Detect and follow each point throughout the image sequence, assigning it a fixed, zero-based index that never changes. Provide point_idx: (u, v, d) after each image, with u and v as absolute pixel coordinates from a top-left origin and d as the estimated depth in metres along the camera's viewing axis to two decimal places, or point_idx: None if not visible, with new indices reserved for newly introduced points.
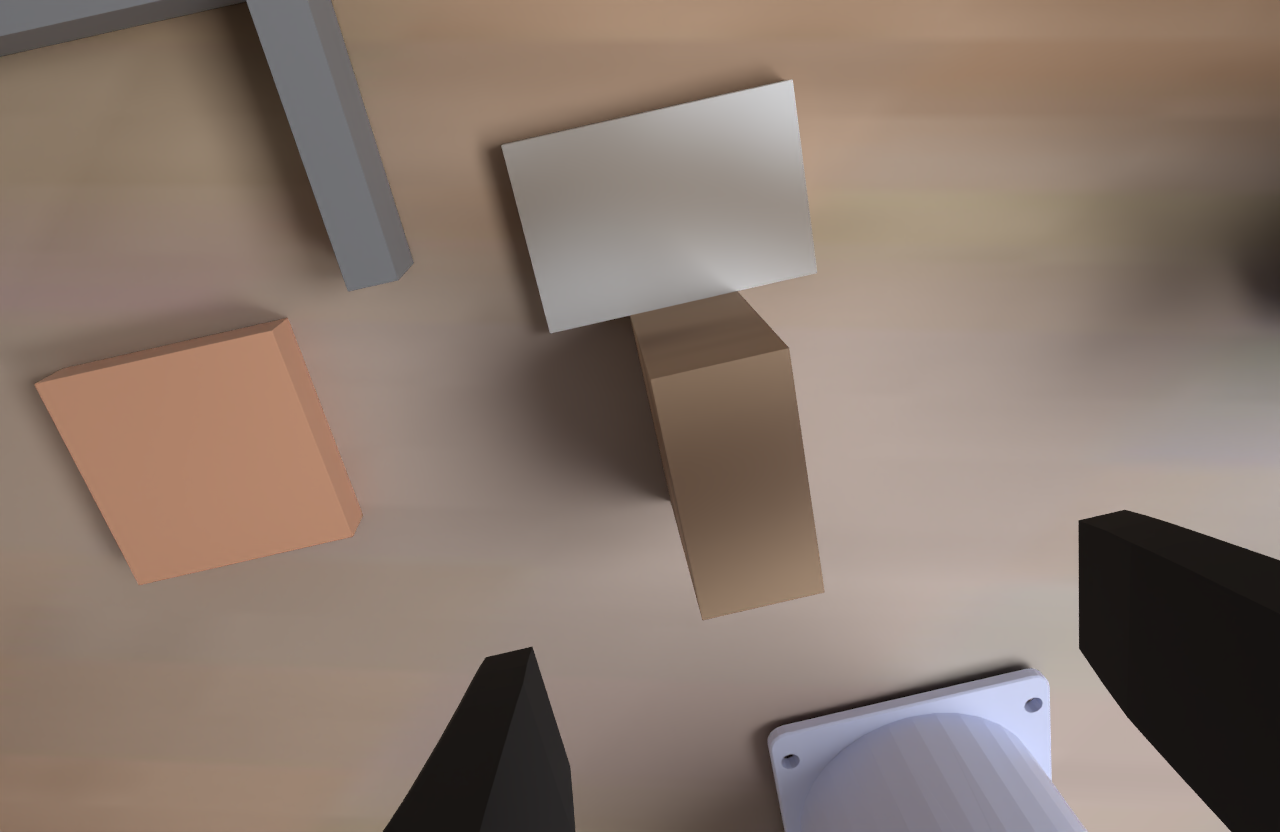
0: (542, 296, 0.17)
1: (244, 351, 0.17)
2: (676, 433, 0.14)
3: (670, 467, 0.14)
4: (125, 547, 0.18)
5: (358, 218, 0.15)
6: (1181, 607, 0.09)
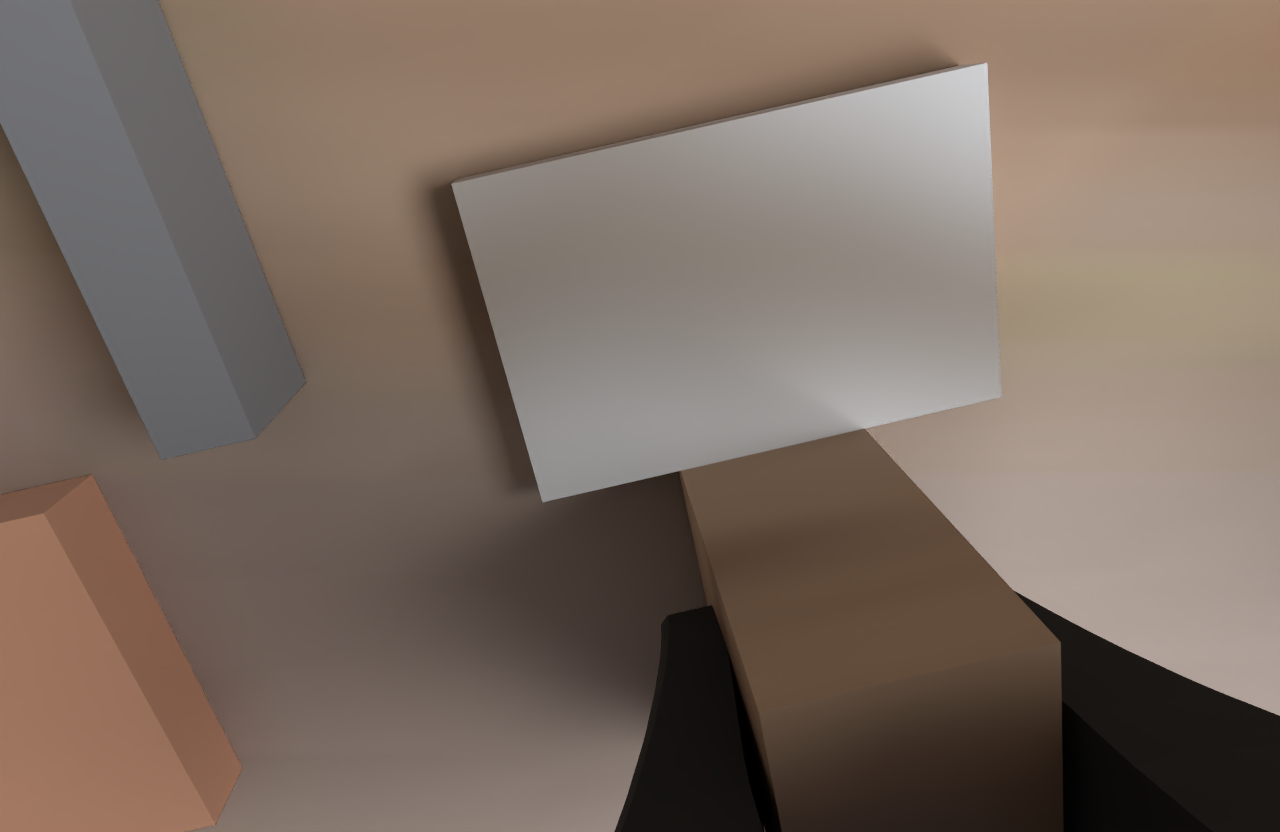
0: (528, 443, 0.10)
1: None
2: (805, 806, 0.07)
3: None
4: None
5: (170, 328, 0.08)
6: None
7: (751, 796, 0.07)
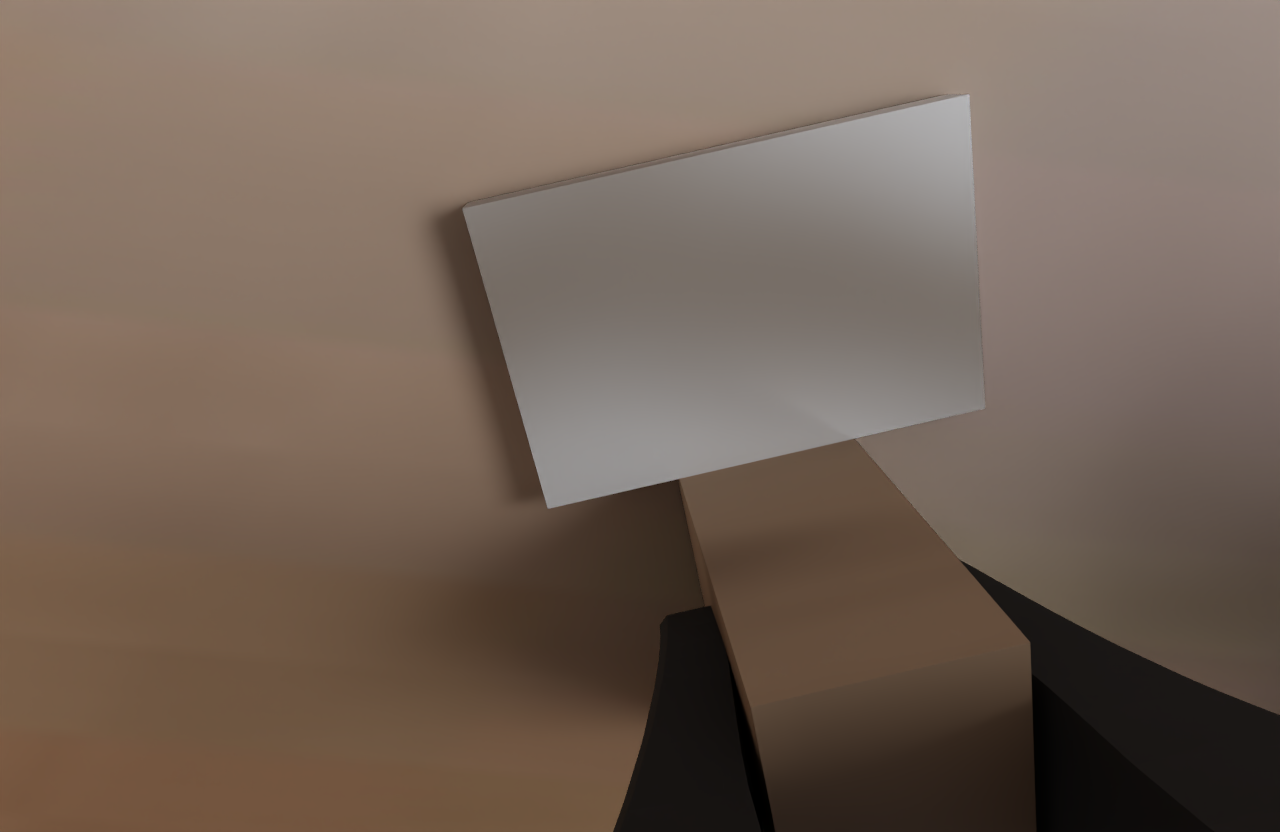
0: (535, 453, 0.11)
1: None
2: (795, 794, 0.07)
3: None
4: None
5: None
6: None
7: (749, 796, 0.07)
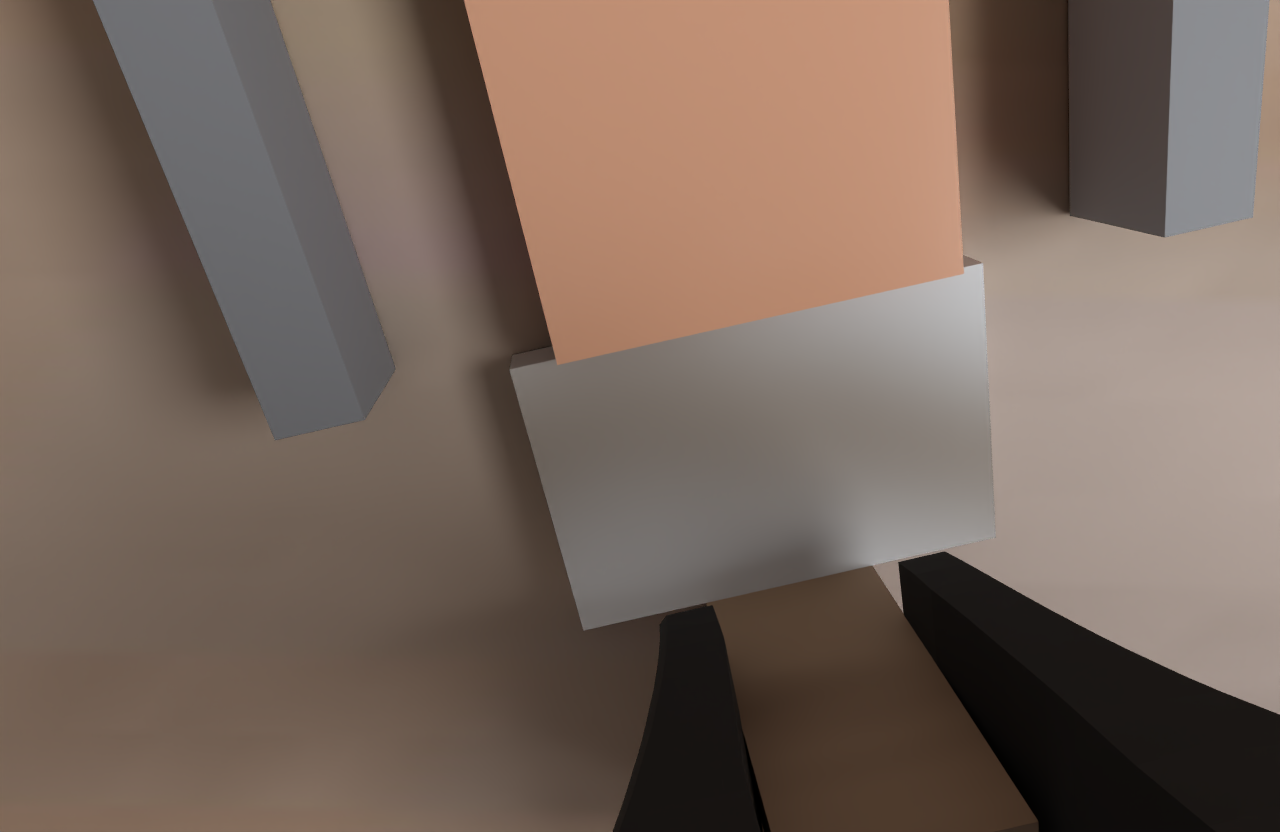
0: (572, 582, 0.11)
1: None
2: None
3: None
4: (546, 283, 0.09)
5: (1229, 102, 0.09)
6: (968, 656, 0.09)
7: (749, 796, 0.07)
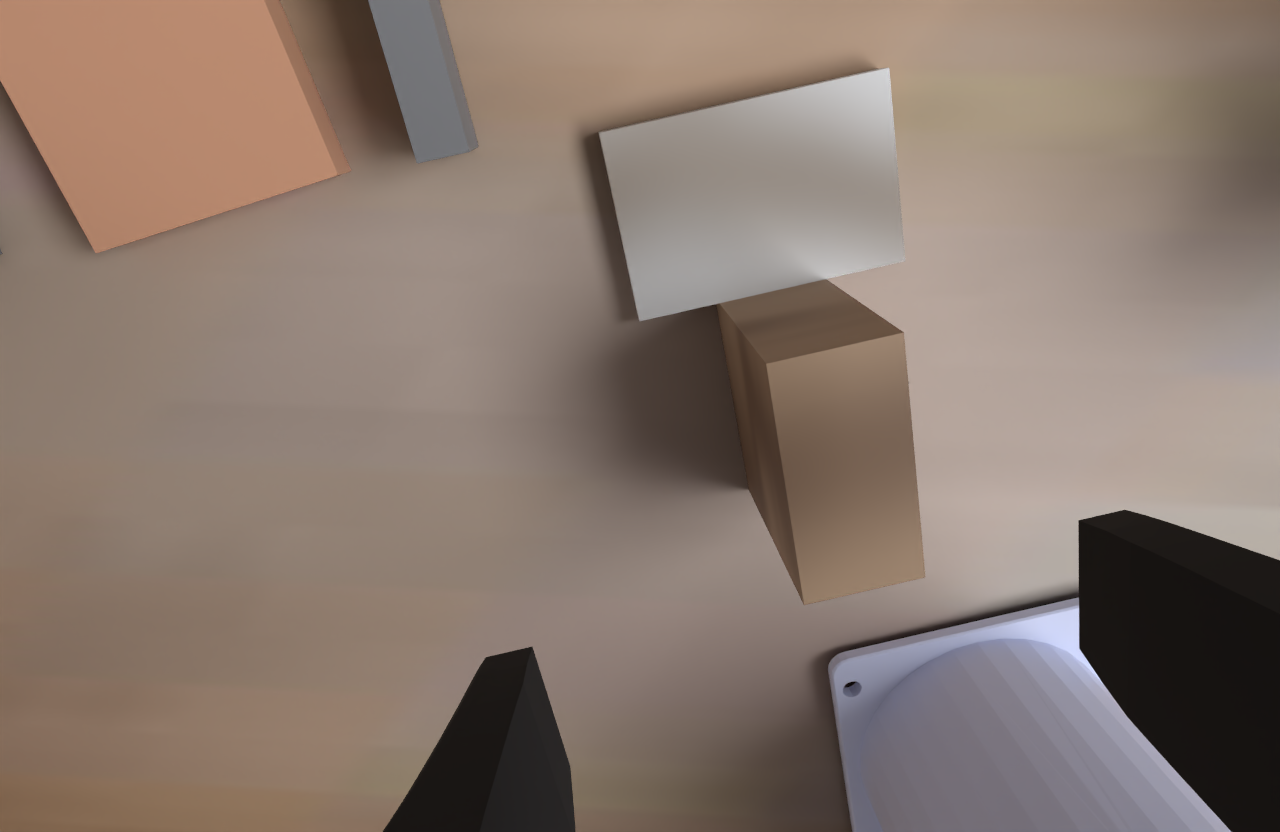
0: (633, 284, 0.18)
1: None
2: (788, 417, 0.14)
3: (780, 451, 0.14)
4: (74, 202, 0.16)
5: (430, 82, 0.15)
6: (1181, 607, 0.09)
7: None
